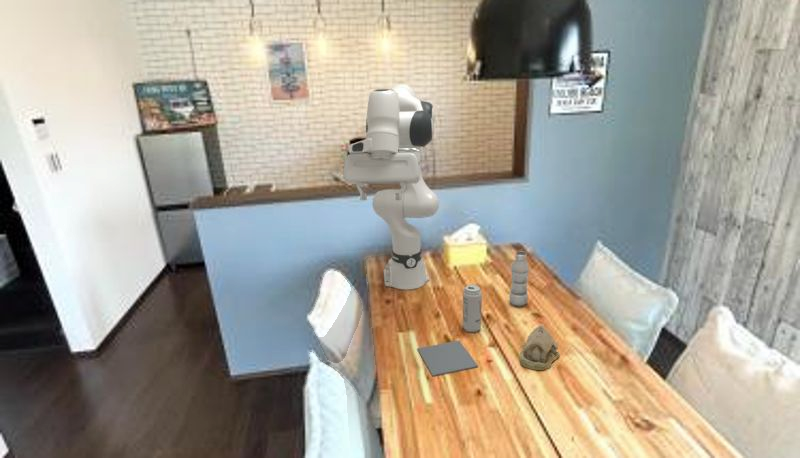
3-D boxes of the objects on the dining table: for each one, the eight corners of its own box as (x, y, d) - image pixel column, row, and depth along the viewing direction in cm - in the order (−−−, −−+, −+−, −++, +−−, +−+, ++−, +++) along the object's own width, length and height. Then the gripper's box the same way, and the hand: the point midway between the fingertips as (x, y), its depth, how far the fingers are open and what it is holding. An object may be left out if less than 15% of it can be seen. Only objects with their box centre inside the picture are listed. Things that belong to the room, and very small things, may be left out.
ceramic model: (524, 341, 146) (526, 313, 143) (561, 349, 141) (564, 320, 138) (514, 365, 134) (515, 335, 131) (553, 375, 129) (556, 345, 126)
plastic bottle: (531, 306, 167) (534, 254, 161) (515, 309, 165) (518, 258, 158) (520, 298, 173) (523, 248, 166) (505, 302, 170) (507, 251, 164)
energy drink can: (480, 334, 150) (481, 292, 146) (461, 332, 152) (462, 291, 147) (481, 324, 156) (482, 284, 151) (463, 323, 157) (464, 283, 152)
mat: (417, 349, 143) (417, 348, 143) (459, 341, 147) (459, 340, 147) (432, 376, 130) (432, 375, 130) (478, 367, 134) (478, 365, 134)
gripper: (422, 151, 124) (421, 201, 123) (348, 152, 127) (347, 201, 126) (419, 144, 118) (418, 198, 116) (342, 145, 121) (340, 198, 119)
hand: (380, 200), depth 121 cm, fingers open, 8 cm apart
